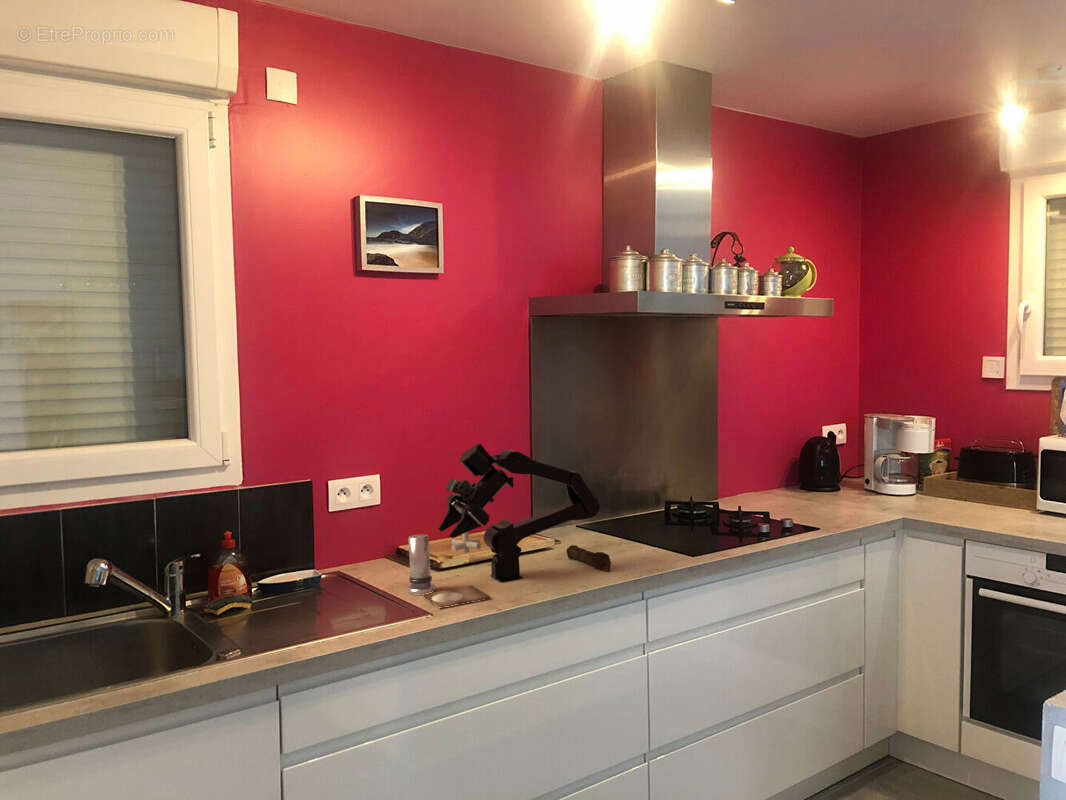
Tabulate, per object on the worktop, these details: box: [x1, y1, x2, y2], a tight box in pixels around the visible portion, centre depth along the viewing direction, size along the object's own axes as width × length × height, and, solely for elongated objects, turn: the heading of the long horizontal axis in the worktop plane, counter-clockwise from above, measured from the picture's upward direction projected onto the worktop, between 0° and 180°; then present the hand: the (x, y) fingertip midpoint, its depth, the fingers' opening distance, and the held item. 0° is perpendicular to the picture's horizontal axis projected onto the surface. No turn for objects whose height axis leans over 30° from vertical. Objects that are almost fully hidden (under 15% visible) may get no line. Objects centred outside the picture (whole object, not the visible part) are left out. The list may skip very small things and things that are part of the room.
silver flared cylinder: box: [407, 533, 436, 595], centre depth 216 cm, size 7×7×14 cm
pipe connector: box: [450, 531, 482, 554], centre depth 243 cm, size 10×10×10 cm
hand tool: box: [566, 544, 612, 572], centre depth 234 cm, size 19×4×5 cm, turn 27°
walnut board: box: [422, 585, 491, 607], centre depth 209 cm, size 13×11×1 cm
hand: (445, 533), depth 218 cm, fingers open, 9 cm apart
